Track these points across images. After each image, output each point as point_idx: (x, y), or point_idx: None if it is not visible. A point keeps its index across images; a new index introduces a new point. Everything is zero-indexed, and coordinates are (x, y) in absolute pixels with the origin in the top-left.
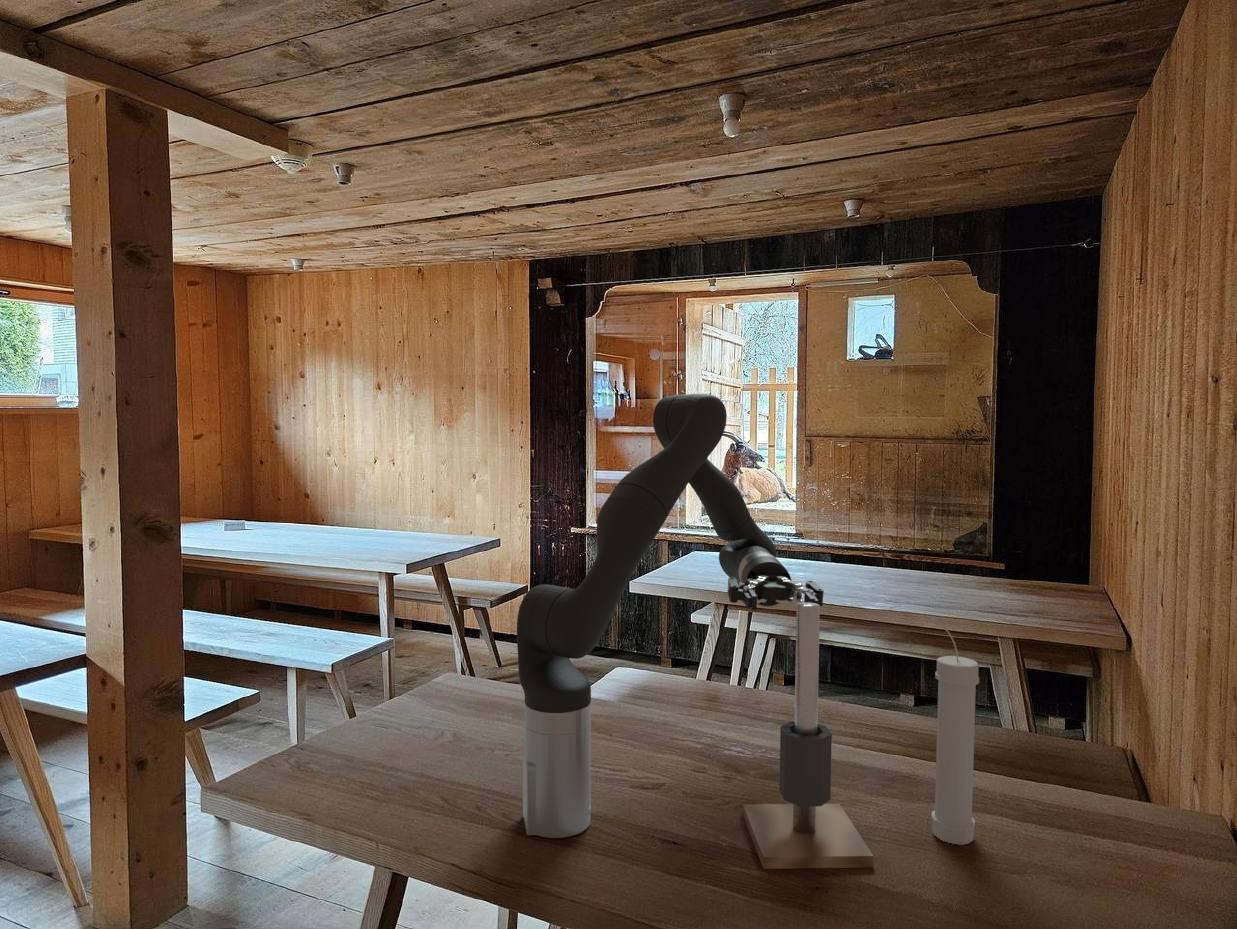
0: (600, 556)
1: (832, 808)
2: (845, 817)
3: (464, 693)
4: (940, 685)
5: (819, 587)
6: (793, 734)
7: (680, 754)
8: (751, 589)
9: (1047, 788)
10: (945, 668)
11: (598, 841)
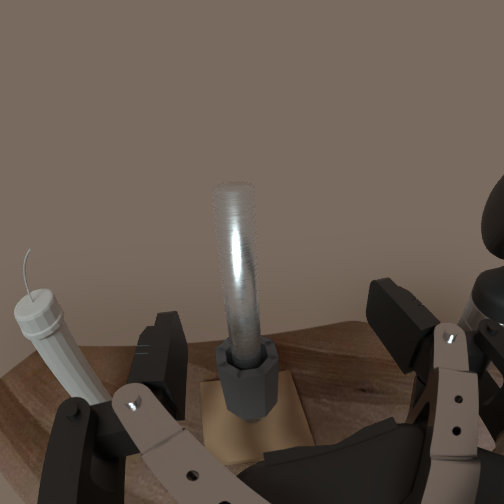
0: None
1: (216, 453)
2: (206, 437)
3: None
4: (62, 326)
5: (52, 450)
6: (263, 340)
7: None
8: (432, 341)
9: (7, 472)
10: (55, 298)
11: (414, 374)
